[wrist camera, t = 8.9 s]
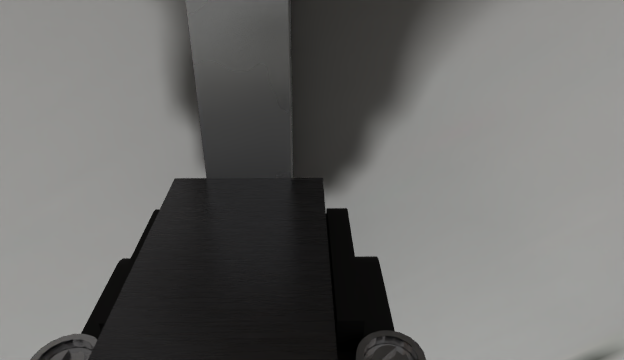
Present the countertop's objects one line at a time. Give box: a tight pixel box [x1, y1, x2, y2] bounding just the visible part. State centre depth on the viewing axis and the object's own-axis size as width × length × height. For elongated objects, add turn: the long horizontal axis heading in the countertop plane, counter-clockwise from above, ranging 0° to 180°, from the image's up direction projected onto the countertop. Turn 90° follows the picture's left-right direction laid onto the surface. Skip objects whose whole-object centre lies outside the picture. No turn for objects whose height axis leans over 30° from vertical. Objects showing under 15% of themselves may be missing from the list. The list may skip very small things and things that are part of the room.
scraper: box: [88, 0, 338, 360], centre depth 11 cm, size 4×24×8 cm, turn 0°
